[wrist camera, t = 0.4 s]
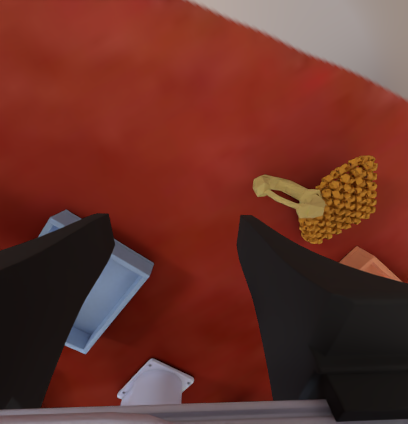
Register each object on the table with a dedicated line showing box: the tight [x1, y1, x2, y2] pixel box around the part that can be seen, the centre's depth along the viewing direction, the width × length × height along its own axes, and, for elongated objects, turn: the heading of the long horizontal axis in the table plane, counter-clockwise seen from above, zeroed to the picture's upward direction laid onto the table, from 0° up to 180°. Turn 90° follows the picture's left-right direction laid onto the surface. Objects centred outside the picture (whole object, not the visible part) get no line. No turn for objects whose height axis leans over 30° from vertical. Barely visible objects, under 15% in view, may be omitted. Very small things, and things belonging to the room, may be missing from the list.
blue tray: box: [38, 210, 154, 354], centre depth 22 cm, size 14×11×2 cm
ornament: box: [253, 155, 378, 244], centre depth 19 cm, size 7×10×15 cm
